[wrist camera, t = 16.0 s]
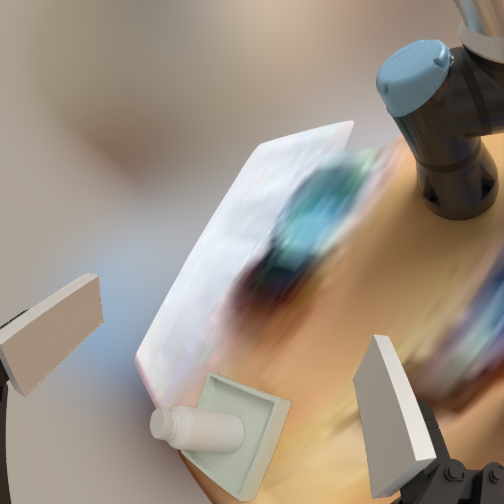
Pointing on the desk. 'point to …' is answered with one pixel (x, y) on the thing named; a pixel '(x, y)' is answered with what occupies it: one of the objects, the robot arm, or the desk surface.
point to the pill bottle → (197, 429)
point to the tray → (255, 434)
